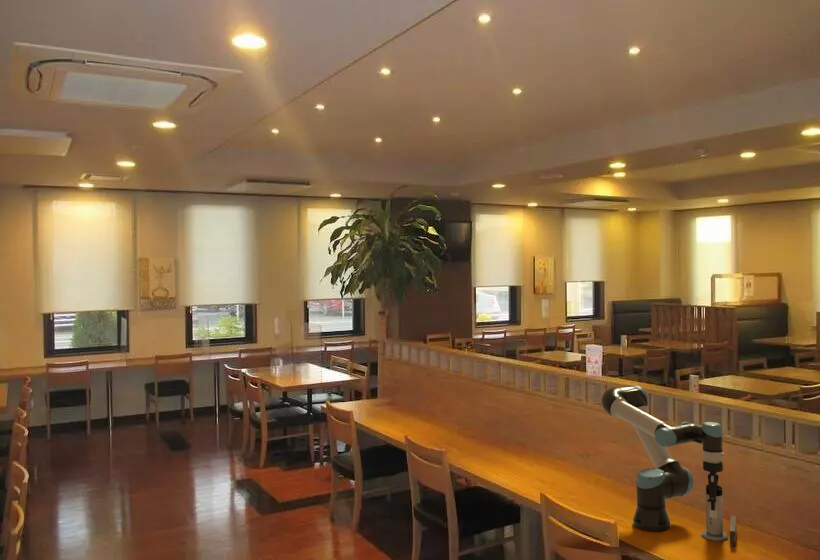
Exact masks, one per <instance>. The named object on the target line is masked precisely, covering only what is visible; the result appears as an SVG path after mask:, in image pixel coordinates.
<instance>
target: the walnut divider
mask: <svg viewBox="0 0 820 560" xmlns="http://www.w3.org/2000/svg"><path fill="white" fill-rule="evenodd" d="M736 545H737V516H736V515H730V523H729V546H730V547H737V546H736Z"/></svg>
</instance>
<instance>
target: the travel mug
mask: <svg viewBox="0 0 820 560" xmlns="http://www.w3.org/2000/svg"><path fill="white" fill-rule="evenodd" d="M707 499H708V500H709V485H708V484H706V485H705V520H706V521H705V524H706V527H705V530H706V533H707V534H708V535H710V536H713V537H721V536H723V532H724V527H723V526H724V522H723V521H724V517H723V513H724V512H723V511H724V508H723V506H724V505H723V504H724V503H723V500H724V499H723V487H722V486H721V485H718V486H717V487H716V502H717V518H710V517H709V502H707ZM711 499H714V498H711Z"/></svg>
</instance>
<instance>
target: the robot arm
mask: <svg viewBox="0 0 820 560" xmlns="http://www.w3.org/2000/svg"><path fill="white" fill-rule="evenodd" d="M600 402H601V406H602V408H603V410H604V411H605V412H606V413H607V414H608V415H610V416H612V417H613V418H616V419H617V418H618V419H619V418H620V419H621V420H623V421H625V422H626V423H629V424H630V425H631V426H632V427H633V428H634V430H635V432H636V433H637V436H638V438H639V439H640V441H641V443H642V445H643V447H644V449H645V450H646V452H647V454H648V456H649V458H650V460H651V462H652V463H653V466H654V467H652V468H644V469H641V470H639V471H638V473H637V474H636V481H635V485H636V508H635V511H634V515H633V518H632V519H633V526H634V527H635V526H636V527H635V528H637V529H639V530H641V531H645V530H646V532H652V531H655V532H654V533H656V532H658V533H660V532H666V531H669V529H671V519H670V517H669V514H668V512H667V509H666V500H668V499H669V500H670V499H672V498H676V497H684V496H685V495H687V494H689V493H691V491H692V490H693V487H694V477H693V474H692V473H691V471H690V469H688V468H686V467H685V466H681V464H680V462H679V460H676V459H674V458H673V456H672V454H671V453H670V450H669V449H668V447H672V446H677V445H682V444H683V445H684V444H687V443H697V444H701V445H702V460H703V461H702V469H703V471H705V472H708V473H707V480H708V482H707V485H709V500H708V499H707V502H709V517H710V518H717V502H716V487H717V486H719V485H718V483H719V474H718V473H722V472H723V471H724V464H723V463H724V462H723V459H724V458H723V456H725V453H723V435H724V434H723V428H722V427H723V426H722V425H721V424H720V423H719V422H716V421H715V422H713V421H705V422H703V423H702V425H701V424H698V423H693V422H691V421H682V422H680V423H679V424H678V425H673V426H671V425H669V424H667V423H665V422H664V421H661V420H660V419H658V418H656V417H654V416H653V415H650V414H649V413H648V412H649V395H648V393H647V391H646V390H645V389H644V388H642V387H641V386H639V385H627V386H620V387H619V386H618V387H611V388H608V389H606V391H604V392H603V394H602V396H601V401H600ZM711 498H714V499H711Z"/></svg>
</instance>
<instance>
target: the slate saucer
mask: <svg viewBox="0 0 820 560" xmlns="http://www.w3.org/2000/svg"><path fill="white" fill-rule="evenodd" d="M700 533H701V534H700V535H701V537H702V538H704V539H706V540H708V541H713V542H724V541H726V540H728V539H729V535H728V534H727V533H726V532H724V531H723V536H721V537H713V536H710V535H708V534H707V533H706V529H705V530H702V531H701V532H700Z"/></svg>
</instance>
